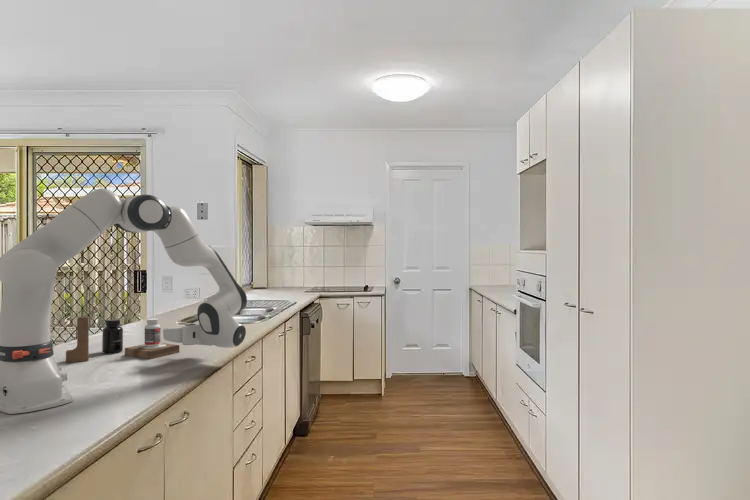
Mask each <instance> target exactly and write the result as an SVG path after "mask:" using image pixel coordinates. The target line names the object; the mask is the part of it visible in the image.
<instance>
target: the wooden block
mask: <svg viewBox="0 0 750 500" xmlns="http://www.w3.org/2000/svg"><path fill="white" fill-rule="evenodd" d="M89 318H90V317H89V315H88V316H77V319H76V320H77V322H76V323H77V324H76V325H77V326H76V327H77V328H76V329H77V330H76V331H77V332H76V333H77V335H76V337H77V338H76V339H77V340H76V347H75V348H73V349H67V350H66V351H65V363H66V364H69V363H79V362H89V356H90V354H89V353H90V352H89V347H90V346H89V343H90V342H89V337H90V336H89V335H90V333H89V332H90V331H89V328H90V327H89V325H90V324H89V322H90V321H89V320H90V319H89Z"/></svg>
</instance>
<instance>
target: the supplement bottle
mask: <svg viewBox="0 0 750 500" xmlns="http://www.w3.org/2000/svg"><path fill="white" fill-rule="evenodd" d="M120 325H121V319H118V318H115V319H114V318H112V319H111V318H110V319H106V320H105V327H103V328H102V336H101V337H102V339H101V341H102V342H101V344H102V345H101V346H102V347H101V349H102V350H101V352H102V353H103V354H107V355H108V354H110V355H111V354H119V353H122V352H123V351H124V350H123V348H124V347H123V346H124V328H123V327H122V326H120Z"/></svg>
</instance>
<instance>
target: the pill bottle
mask: <svg viewBox="0 0 750 500" xmlns="http://www.w3.org/2000/svg"><path fill="white" fill-rule="evenodd" d="M159 322H160V320H159V318H156V317H155V318H154V317H153V318H147V319H146V325H145V327H144V344H145V346H146V347H154V346H159V345H160V343H161V329H162V328H161V325H160V324H158V323H159Z"/></svg>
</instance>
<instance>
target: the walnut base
mask: <svg viewBox="0 0 750 500" xmlns="http://www.w3.org/2000/svg"><path fill="white" fill-rule="evenodd" d="M177 353H180V344H172V343H165V342H160V345H159V346H154V347H146V346H145V343H143V344H138V345H134V346H129V347H124V356H128V357H132V358H134V357H135V358H141V359H147V360H152V359H156V358H161V357H165V356H169V355H173V354H177Z"/></svg>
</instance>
